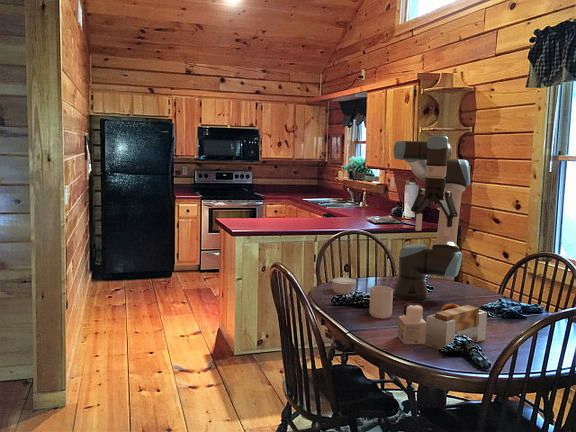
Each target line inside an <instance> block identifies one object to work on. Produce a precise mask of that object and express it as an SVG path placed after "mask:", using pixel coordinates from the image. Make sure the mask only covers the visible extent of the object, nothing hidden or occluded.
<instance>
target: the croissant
mask: <svg viewBox="0 0 576 432" xmlns="http://www.w3.org/2000/svg"><path fill="white" fill-rule="evenodd" d="M457 307H461V305H458V304H456V303H447V304H444V305H442V307H441V309H440V312H441V311H445V310H449V309H453V308H457Z"/></svg>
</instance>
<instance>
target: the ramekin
mask: <svg viewBox="0 0 576 432" xmlns="http://www.w3.org/2000/svg"><path fill="white" fill-rule="evenodd" d="M331 283H332V291H334V293H336V294H339V295H340V294H341V295H349V294H348V293H351V294H352V292H353V293H354V291H355V288H356V283H357V280H355V279H354V278H350V277H336V278H332V279H331Z"/></svg>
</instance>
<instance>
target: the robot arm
mask: <svg viewBox="0 0 576 432" xmlns="http://www.w3.org/2000/svg"><path fill="white" fill-rule="evenodd" d="M452 154H453V148H452V145H451V144H450V143H449V138H448V136H446V135H429V136H428V137H427V141H423V140H421V141H420V140H398V141H395V142H394V146H393V157H394V159H395V160H399V161H405V162H406V163H407V164H408V165H409V167H410V168H411V171H412V174H413V175H414V176H415V177H416V178H417V179H420V180H421V181H424V187H425V188H419V189H418V191H417V192H418V193H417V196H416V197H415V200H414V202H413V204H412V206H411V208H410V211H411V212H413V213H414V222H415V228H414V230H415V231H416V232H417V231H418V232H419V231H422V227H423V213H422V212H423V211H424V209H425V208H426V207H427V205H428V204H429V203H430V202H431V203H432V202H433V203H436V204H438V205H439V206H440V207H439V216H438V222H437V223H438V225H437V233H436V239H435V242H434V243H432V245H431V248H428V247H427V245H426V244H422V243H421V244H420V243H418V244H417V243H414V244H413V243H412V244H407V245H403V246H401V247H400V249H399V256H398V258H399V260H398V261H399V262H398V278H397V281H396V283H395V285H394V288H393V296H395V297H397V298H399V299H405V300H416V301H417V300H425V299H427V298H428V296H429V295H428V294H429V291H428V289H427V285H426V279H425V277H426V276H434V277H444V278H455V277H457V276H458V274H459V273H460V268H461V264H462V259H463V253H462V252H461V251H460V247H459V246H458V244H457V239H458V230H459V223H460V222H459V221H460V210H461V202H462V194H463V192H465V191H466V190H467V189H466V188H467V187H469V186H470V184H471V173H470V163H469V161H468V160H466V159H459V158H451V156H452ZM425 275H426V276H425Z"/></svg>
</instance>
